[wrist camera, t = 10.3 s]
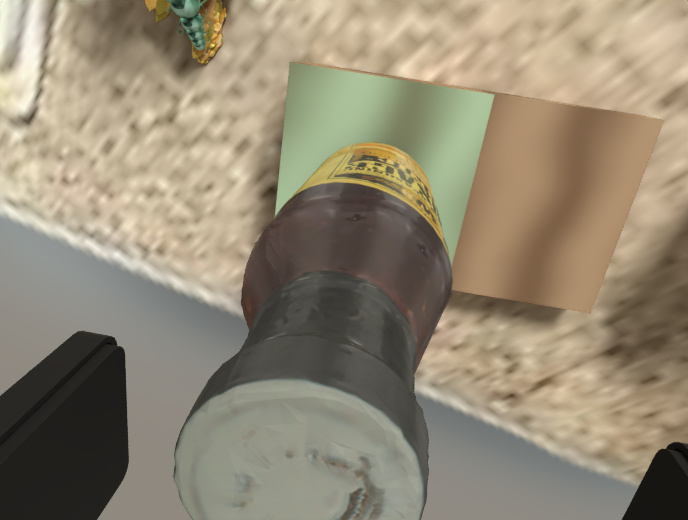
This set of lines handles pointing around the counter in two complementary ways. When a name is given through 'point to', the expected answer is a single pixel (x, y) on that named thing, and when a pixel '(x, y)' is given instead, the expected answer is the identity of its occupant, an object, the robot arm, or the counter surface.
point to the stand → (486, 173)
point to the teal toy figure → (195, 23)
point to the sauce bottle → (327, 355)
